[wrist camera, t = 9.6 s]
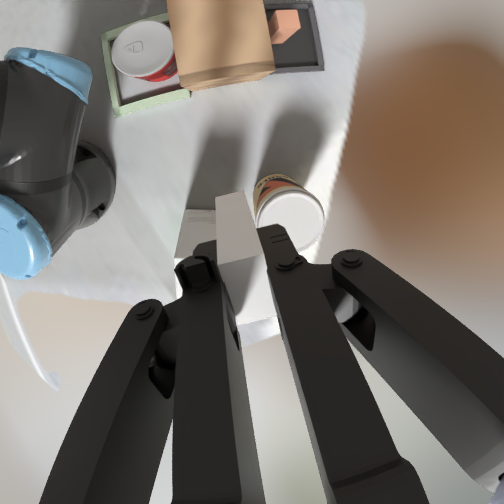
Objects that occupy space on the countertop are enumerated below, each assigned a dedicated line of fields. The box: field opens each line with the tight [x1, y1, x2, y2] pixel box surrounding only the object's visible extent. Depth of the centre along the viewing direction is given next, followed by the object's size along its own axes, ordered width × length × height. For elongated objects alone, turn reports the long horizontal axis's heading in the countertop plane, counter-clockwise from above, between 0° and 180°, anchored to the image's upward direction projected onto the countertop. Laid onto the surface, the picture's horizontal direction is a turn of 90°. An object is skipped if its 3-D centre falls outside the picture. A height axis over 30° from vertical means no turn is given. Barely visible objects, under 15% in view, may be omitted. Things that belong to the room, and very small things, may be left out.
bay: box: [101, 12, 191, 118], centre depth 34 cm, size 12×15×1 cm
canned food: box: [111, 20, 178, 82], centre depth 30 cm, size 8×8×11 cm
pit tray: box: [264, 4, 324, 75], centre depth 35 cm, size 9×12×1 cm
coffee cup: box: [253, 174, 324, 253], centre depth 43 cm, size 9×9×12 cm
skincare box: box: [174, 209, 216, 299], centre depth 43 cm, size 8×7×16 cm
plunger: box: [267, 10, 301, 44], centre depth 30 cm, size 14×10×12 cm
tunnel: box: [166, 0, 276, 91], centre depth 29 cm, size 10×13×14 cm
